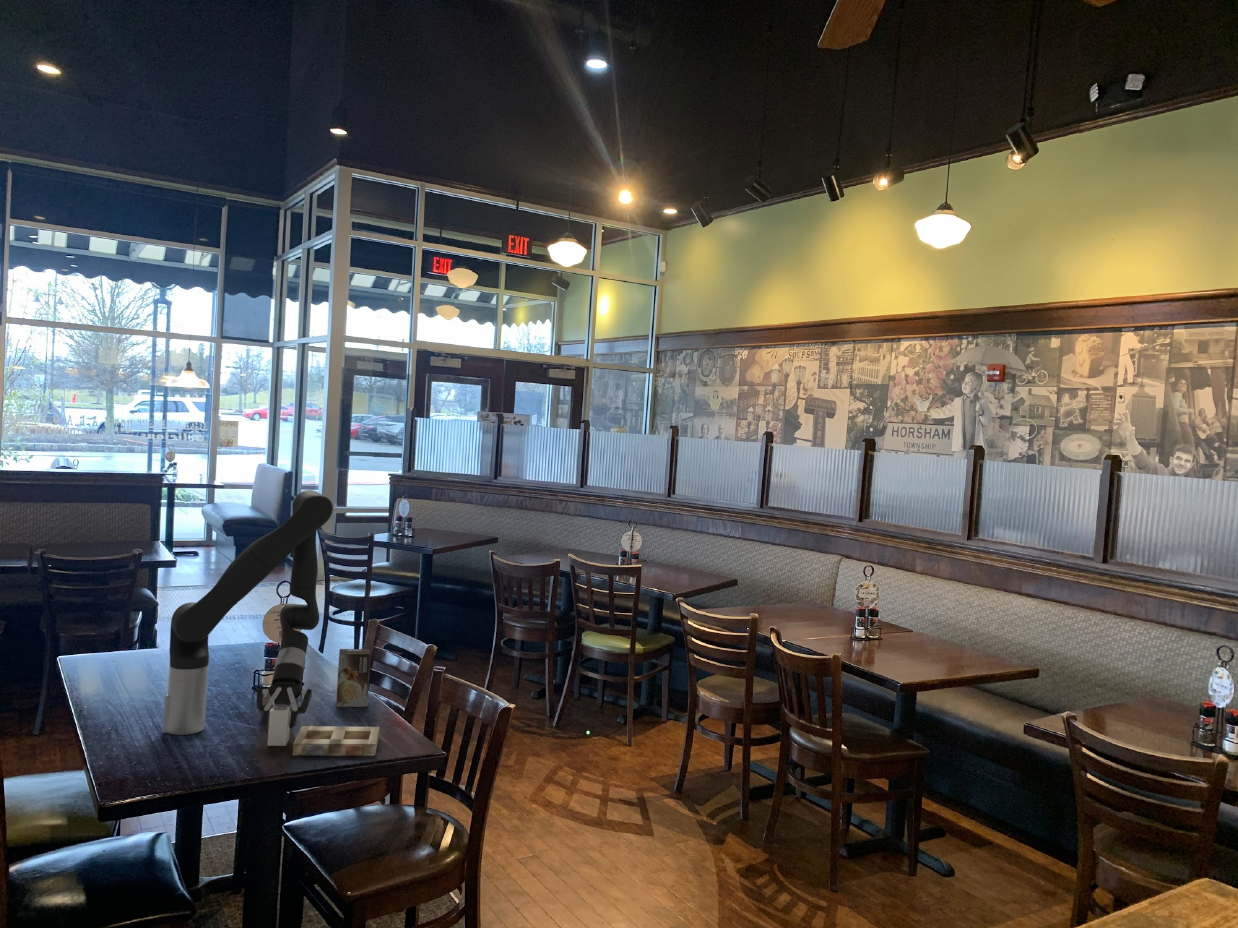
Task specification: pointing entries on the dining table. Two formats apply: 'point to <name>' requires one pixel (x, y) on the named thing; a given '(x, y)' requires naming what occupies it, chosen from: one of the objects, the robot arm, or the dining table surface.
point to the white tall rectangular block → (279, 725)
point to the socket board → (336, 741)
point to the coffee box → (353, 678)
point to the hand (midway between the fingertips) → (278, 726)
